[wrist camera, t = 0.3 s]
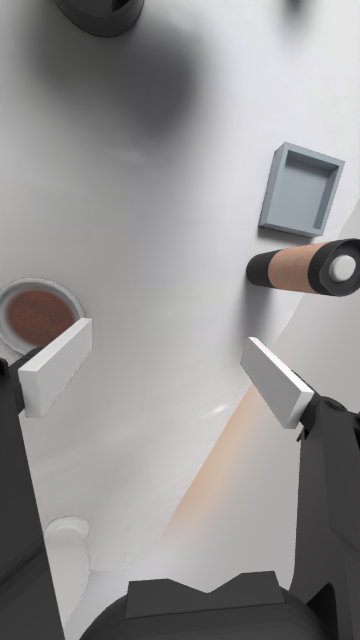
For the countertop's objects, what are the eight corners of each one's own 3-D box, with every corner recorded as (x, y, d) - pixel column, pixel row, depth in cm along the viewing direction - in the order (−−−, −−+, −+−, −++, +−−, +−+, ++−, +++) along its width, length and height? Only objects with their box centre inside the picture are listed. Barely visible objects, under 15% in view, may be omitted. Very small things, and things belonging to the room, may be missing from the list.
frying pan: (-36, 387, 37) (1, 260, 32) (-23, 379, 40) (13, 261, 35) (51, 410, 42) (96, 301, 36) (57, 401, 44) (100, 299, 39)
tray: (274, 151, 37) (285, 141, 34) (331, 169, 39) (345, 161, 37) (258, 226, 40) (266, 222, 37) (310, 237, 43) (322, 235, 40)
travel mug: (280, 263, 43) (384, 257, 24) (262, 291, 44) (347, 307, 25) (257, 246, 41) (349, 224, 22) (238, 276, 42) (311, 279, 23)
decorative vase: (24, 545, 53) (-79, 767, 29) (51, 504, 51) (-36, 709, 27) (82, 554, 58) (35, 752, 34) (109, 517, 56) (79, 700, 32)
